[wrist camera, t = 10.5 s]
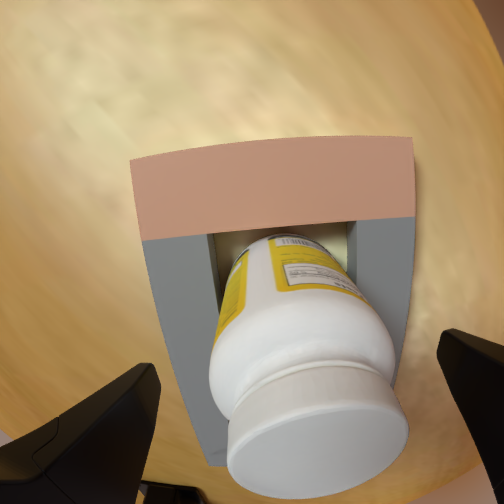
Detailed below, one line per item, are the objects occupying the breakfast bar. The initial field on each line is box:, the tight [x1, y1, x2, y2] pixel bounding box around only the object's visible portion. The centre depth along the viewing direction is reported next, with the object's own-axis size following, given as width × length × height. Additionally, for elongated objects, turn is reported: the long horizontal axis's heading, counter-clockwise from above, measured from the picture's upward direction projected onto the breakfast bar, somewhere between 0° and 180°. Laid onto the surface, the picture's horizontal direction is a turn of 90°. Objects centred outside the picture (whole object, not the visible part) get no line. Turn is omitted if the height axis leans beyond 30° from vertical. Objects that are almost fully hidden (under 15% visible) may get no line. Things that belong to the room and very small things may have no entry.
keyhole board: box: [130, 136, 415, 466], centre depth 14 cm, size 20×12×2 cm, turn 6°
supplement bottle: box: [209, 233, 409, 499], centre depth 9 cm, size 5×5×10 cm
